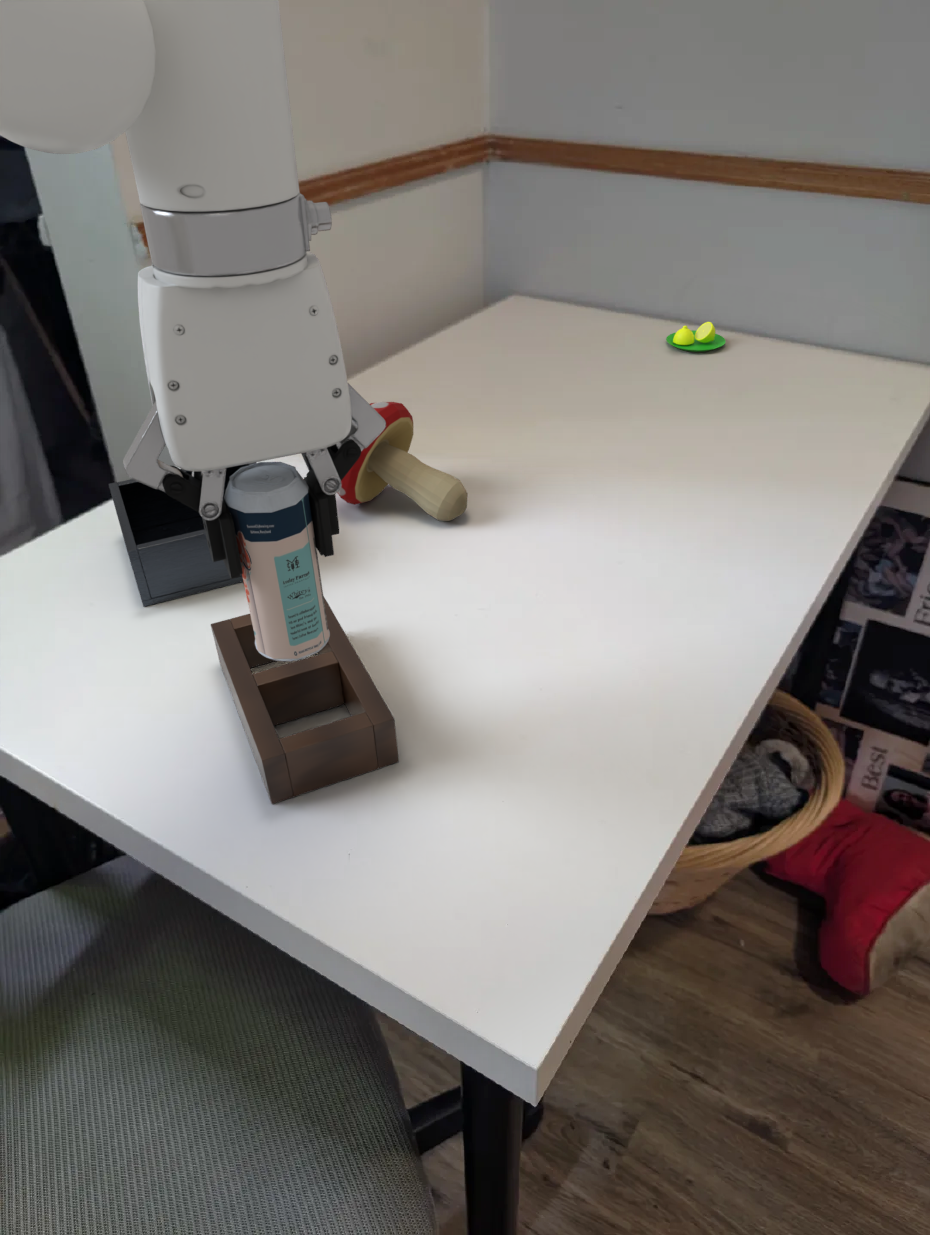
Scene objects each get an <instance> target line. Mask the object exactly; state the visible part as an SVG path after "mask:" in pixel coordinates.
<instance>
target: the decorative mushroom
mask: <svg viewBox="0 0 930 1235" xmlns="http://www.w3.org/2000/svg"><path fill="white" fill-rule="evenodd" d="M369 404H370V405H371V406H372V407H373V408H374V409H375V410H376V411H377V412H378V413H379V414H380V415H381V416H382V417H383V418H384V420H385V421H386V427H385V429H384V430H383V432H382V433H381V434H380V435H379V436H378V437H377V438H376V439H375V440H374V441H373V442H372V443H371V444H370V445H369V446H368V447H367V448H364V449H363V450H362V451H361V455H360V457H359V459H358V460H357V461H356V463H355V464H354V465H353V466H352V468H351V469H350V470H349V472H348V473H347V474H346V475H345V477H344V478H343V479H342V481H341V483H342V485H341V489H340V490H339V492H337V493H336V494H337V495H338V496H339V497H340V498H341V499H342V501H344V502H346V503H347V504H350V505H360V504H363V503H367V502H370V501H372V500H374V499H375V498H376V497H377V496H378V495H380V494H381V493H382V492H383V491H384V490H385V489H386V488H387V486H388V485H389V486H390V487H391V488H392V489H394V490H396V491H398V492H400V493H402V494H404V495H405V496H407V497H408V498H409V499H411V500H412V501H413V502H415V504H416V505H418V506H419V507H420V508H421V510H423V511H424V512H425V513H426V514H427V515H429V516H431V517H432V518H434V519H435V520H437V521H444V522H445V521H446V522H450V521H453V520H454V519H457V518H458V517H460V516H461V515H463V514H464V513H465V511H466V509H467V507H468V494H469V493H468V491H467V488H466V487H465V485H464V483H463V482H462V481H461V480H460V479H458V478H457V477H455V476H453V475H452V474H450V473H447V472H445V471H442V470H439V469H437V468H435V467H432V466H430V465H428V464H426V463H424V462H423V461H422V460H420V459H419V458H417V457H416V456H415V455H413V454H411V453H410V452H409V451H410V448H411V445H412V441H413V438H414V419H413V415H412V414H411V413H410V410H408V408H407V407H406V406H405V405H404V404H403V403H401V402H397V401H379V402H369ZM351 420H352V419H351Z"/></svg>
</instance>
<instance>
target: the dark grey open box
mask: <svg viewBox="0 0 930 1235" xmlns="http://www.w3.org/2000/svg"><path fill="white" fill-rule="evenodd" d="M255 463H258V462H255ZM255 463H249V464H244V465H239V466H233V467H228V468H226V476H225V484H224V493H223V500H224V502H225V498H224V495H225V492H226V489H227V486H228V483H229V480H230V478H229V477H230V476H231V475H233V474H234V473H235V472H236V471H237V470H239V469H240V468H242V467H245V466H249V465H252V464H255ZM180 469H181V468H180ZM181 470H183V471H185V472H186V473H188V474H190V475H191V476H192V471H188V470H184V469H181ZM108 488H109V491H110V494H111V499H112V502H113V505H114V509H115V512H116V516H117V519H118V523H119V527H120V531H121V533H122V534H121V535H122V538H123V542H124V545H125V548H126V551H127V555H128V559H129V563H130V566H131V569H132V572H133V576H134V580H135V583H136V587H137V589H138V593H139V597H140V600H141V603H142V607H148V606H152V605H156V604H160V603H165V602H169V601H171V600H176V599H180V598H184V597H187V596H193V595H195V594H199V593H203V592H207V591H212V590H216V589H219V588H224V587H227V586H231V585H236V584H240V583H244V582H243V577H242V574H240V577H237V578H233V579H231V578H230V575H229V573H228V571H227V569H226V566H225V564H224V562H223V560H221V561H216V562H213V560H212V558H211V555H210V552H209V548H208V543H207V538H206V534H205V529H204V524H203V519H202V517H201V515H200V513H198V512H197V511H195V510H193V509H191V508H189V507H188V506H186V505H184V504H182V503H181V502H179V501H177V500H175V499H174V498H172V497H170V496H169V495H167V494H166V492H164V491H161V490H159V489H155V488H152V487H150V486H147V485H145V484H143V483H140V482H138V481H136V480H133V479H131V478H129V479H126V480H121V481H116V482H115V481H114V482H111V483H108ZM225 504H226V502H225ZM226 506H227V508H228V505H227V504H226Z"/></svg>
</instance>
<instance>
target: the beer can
mask: <svg viewBox="0 0 930 1235" xmlns="http://www.w3.org/2000/svg"><path fill="white" fill-rule="evenodd" d="M229 478H230V480H229V483H228V486H227V489H226V492H225V495H224V498H225V502H226V504H227V505H228V510H229V512H230V514H231V516H232V519H233V522H234V528H235V533H236V539H237V544H238V549H239V555H240V560H241V566H242V571H243V574H242V577H243V582H242V583H243V585H244V590H245V595H246V600H247V606H248V609H249V610H248V612H249V614H250V615H251V620H252V625H253V630H254V635H255V646H256V649H257V650H258V652H259V653H260V654H262V655H263V656H265V657H266V658H269V659H272V660H275V661H274V662H296V661H299V660H303V659H306V658H310V657H312V656H313V655H316V654H317V653H318V652H319V651H320V650H321V649H322V648H323V647H324V646H325V645H326V644H327V642H328V640H329V637H330V631H329V629H328V623H327V616H326V610H325V603H324V598H325V595H324V590H323V584H322V576H321V569H320V563H319V557H318V550H317V548H316V543H315V536H314V529H313V523H312V516H311V509H310V502H309V496H308V485H307V483H306V481H305V480H304V477H303V476H302V474H300V472H299V471H298V470H297V468H296V466H294V465H291V464H289V463H285V462H283V461H260V462H257V463H255V464H252V465H249V466H245V467H242V468H240V469H239V470H237V471H236V472H235V473H234V474H233V475H231V476H230V477H229Z"/></svg>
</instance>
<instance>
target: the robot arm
mask: <svg viewBox="0 0 930 1235" xmlns="http://www.w3.org/2000/svg"><path fill="white" fill-rule="evenodd" d="M280 10H281V8H280V0H0V137H2V138H4V139H6V140H8V141H10V142H12V143H13V144H16V145H19V146H21V147H23V148H27V149H30V150H32V151H37V152H42V153H47V154H55V155H76V154H82V153H87V152H91V151H94V150H98V149H99V148H102V147H104V146H106V145H108V144H110V143H112V142H114V141H116V140H117V139H118V138H119V137H120V136H122V135H123V134H124V133H125V138H126V143H127V147H128V152H129V158H130V162H131V167H132V173H133V176H134V181H135V187H136V192H137V195H138V200H139V208H140V211H141V218H142V221H143V226H144V232H145V236H146V241H147V247H148V250H149V256H150V261H151V265H148V266H146V267H143V268H141V269H140V270H139V271H138V272H137V306H138V320H139V329H140V330H139V331H140V336H141V337H140V338H141V344H142V352H143V358H144V365H145V371H146V376H147V383H148V389H149V394H150V399H151V408H150V409H149V411H148V413H147V415H146V417H145V418H144V420H143V422H142V424H141V426H140V427H139V430H138V431H137V433H136V435H135V437H134V439H133V440H132V442H131V444H130V446H129V448H128V450H127V451H126V454H125V455H124V457H123V460H122V464H123V468H124V471H125V474H126V476H127V477H128V478H129V479H133V480H136V481H138V482H140V483H143V484H145V485H147V486H150V487H152V488H155V489H159V490H161V491H164V492H166V494H167V495H169V496H170V497H172V498H174V499H175V500H177V501H179V502H181V503H182V504H184V505H186V506H188V507H189V508H191V509H193V510H195V511H197V512H198V513H200V515H201V517H202V519H203V524H204V529H205V534H206V538H207V543H208V548H209V552H210V555H211V558H212V560H213V562H216V561H221V560H223V562H224V564H225V566H226V569H227V571H228V573H229V575H230V578H231V579H233V578H237V577H240V574H243V571H242V566H241V560H240V555H239V549H238V544H237V539H236V533H235V528H234V522H233V519H232V516H231V514H230V512H229V510H228V508H227V506H226V504H225V502H224V500H223V493H224V484H225V476H226V468H228V467H233V466H239V465H244V464H249V463H255V462H257V463H259V462H266V461H269V460H270V461H271V460H274V459H275V460H276V459H280V458H285V457H290V456H295V455H300V454H301V457H302V458H303V461H304V463H305V465H306V468H307V470H308V471H307V473H306V476H304V477H303V479H304V480H305V481H306V483H307V485H308V496H309V502H310V509H311V516H312V523H313V529H314V536H315V543H316V549H317V552H318V553H319V554H320V556H324V558H328V557H331V556H334V555H335V553H334V552H335V551H334V543H333V536H335V535H339V534H340V524H339V516H338V515H339V514H338V505H337V496H336V495H337V494H338V493H337V492H339V490H340V489H341V485H342V483H341V481H342V479H343V478H344V477H345V475H346V474H347V473H348V472H349V470H350V469H351V468H352V466H353V465H354V464H355V463H356V461H357V460H358V459H359V457H360V455H361V451H362V450H363V449H364V448H367V447H368V446H369V445H370V444H371V443H372V442H373V441H374V440H375V439H376V438H377V437H378V436H379V435H380V434H381V433H382V432H383V430H384V429H385V427H386V421H385V420H384V418H383V417H382V416H381V415H380V414H379V413H378V412H377V411H376V410H375V409H374V408H373V407H372V406H371V405H370V402H368V401H367V400H366V399H365V398H364V397H363V396H362V395H361V394H360V393H359V392H358V391H357V390H356V389H355V387H353V386H352V385H351V384H350V383H349V382H348V376H347V369H346V364H345V358H344V352H343V347H342V343H341V338H340V334H339V329H338V323H337V319H336V315H335V310H334V305H333V302H332V298H331V294H330V291H329V287H328V284H327V280H326V277H325V274H324V271H323V268H322V264H321V262H320V259H319V258H318V257H317V254H315V253H314V252H311V246H310V242H311V241H312V236H316V235H318V233H319V232H326V231H331V230H332V225H333V224H332V223H333V221H332V220H333V219H332V213H331V209H330V206H329V203H328V202H327V201H320V202H313V200H307V198H305V196H304V194H302V193H301V192H300V183H299V175H298V165H297V156H296V147H295V138H294V129H293V120H292V111H291V102H290V94H289V84H288V74H287V66H286V55H285V47H284V46H285V45H284V37H283V27H282V19H281V11H280ZM351 419H352V420H351ZM165 447H167V450H168V453H169V456H170V459H171V461H172V463H173V464H174V465H170V464H167V463H165V462H164V461H162V460H160V459H159V458H160V456H161V454H162V452H163V450H164V449H165ZM181 469H184V470H188V471H192V476H191V475H190V474H188V473H186V472H185V471H183V470H181Z"/></svg>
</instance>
